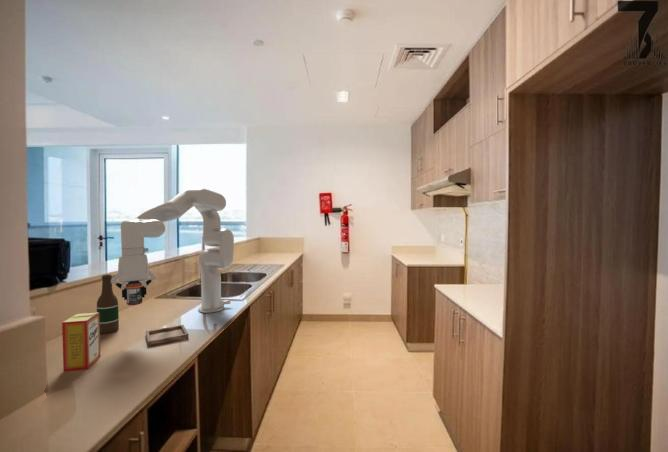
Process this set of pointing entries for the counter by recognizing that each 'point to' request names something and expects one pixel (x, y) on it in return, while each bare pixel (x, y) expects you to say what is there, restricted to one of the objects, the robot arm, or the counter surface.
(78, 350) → the baking soda box
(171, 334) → the walnut tray
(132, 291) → the supplement bottle
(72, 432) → the counter surface
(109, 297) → the beer bottle
